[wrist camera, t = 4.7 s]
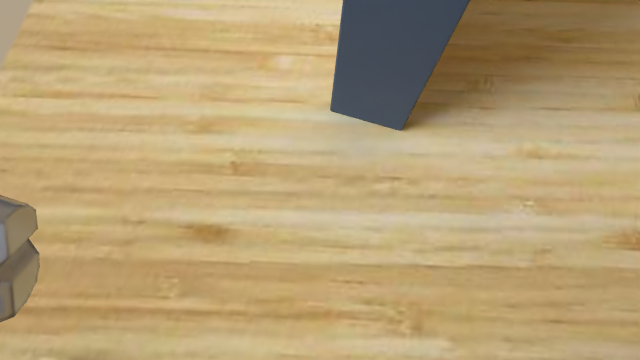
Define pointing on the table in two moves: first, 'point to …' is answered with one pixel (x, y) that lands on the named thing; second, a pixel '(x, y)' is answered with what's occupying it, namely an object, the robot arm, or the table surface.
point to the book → (389, 55)
